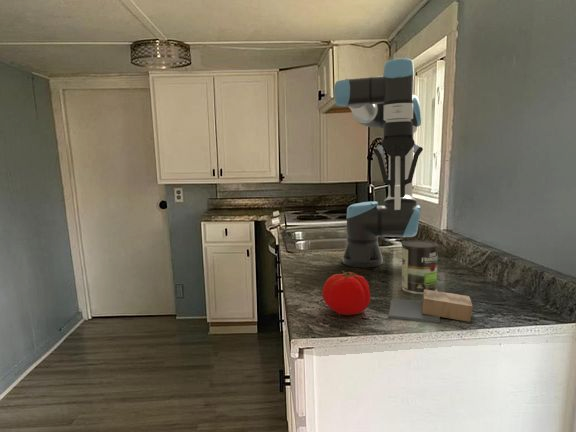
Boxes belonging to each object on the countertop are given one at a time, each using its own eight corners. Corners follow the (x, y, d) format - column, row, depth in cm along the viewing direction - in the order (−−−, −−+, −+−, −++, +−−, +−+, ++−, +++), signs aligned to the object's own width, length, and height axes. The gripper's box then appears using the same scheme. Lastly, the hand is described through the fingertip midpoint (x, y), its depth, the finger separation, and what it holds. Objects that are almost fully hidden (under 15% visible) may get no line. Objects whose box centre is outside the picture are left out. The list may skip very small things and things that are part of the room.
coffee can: (444, 290, 113) (446, 244, 111) (419, 297, 108) (420, 249, 106) (418, 281, 122) (419, 238, 120) (394, 287, 117) (394, 242, 115)
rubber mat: (392, 300, 106) (392, 298, 106) (438, 304, 102) (438, 302, 102) (388, 317, 95) (388, 315, 95) (439, 322, 91) (439, 320, 91)
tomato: (371, 322, 92) (371, 281, 91) (321, 320, 94) (320, 280, 93) (369, 302, 105) (369, 265, 104) (324, 301, 107) (324, 265, 106)
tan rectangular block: (423, 289, 100) (469, 296, 97) (422, 303, 101) (467, 310, 97) (423, 298, 94) (472, 306, 90) (422, 313, 94) (470, 322, 91)
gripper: (371, 122, 99) (372, 211, 103) (424, 118, 95) (422, 211, 99) (374, 123, 106) (374, 206, 110) (423, 120, 102) (422, 207, 106)
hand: (397, 208), depth 104 cm, fingers closed
